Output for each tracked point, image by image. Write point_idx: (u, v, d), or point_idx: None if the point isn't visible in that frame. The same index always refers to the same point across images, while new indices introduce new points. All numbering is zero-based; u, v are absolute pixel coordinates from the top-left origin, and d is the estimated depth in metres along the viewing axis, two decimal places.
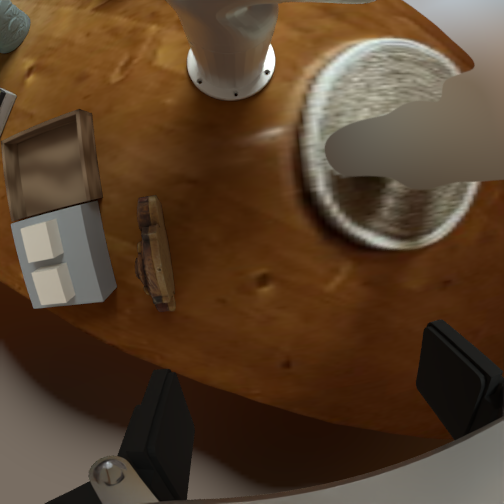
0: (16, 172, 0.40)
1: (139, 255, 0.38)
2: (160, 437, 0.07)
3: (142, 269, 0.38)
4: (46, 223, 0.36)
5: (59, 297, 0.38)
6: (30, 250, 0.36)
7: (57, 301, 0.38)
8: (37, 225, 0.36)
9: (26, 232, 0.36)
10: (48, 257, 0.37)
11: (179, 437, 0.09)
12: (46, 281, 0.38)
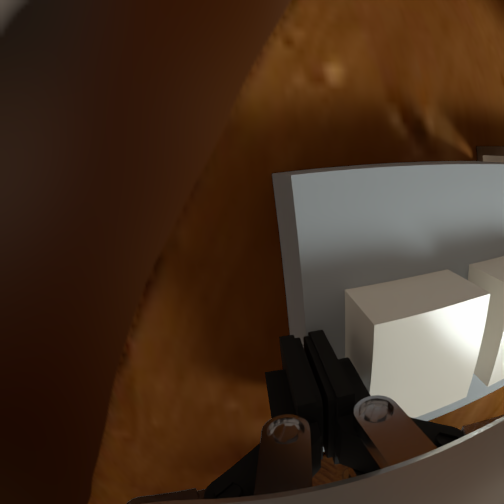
0: None
1: None
2: None
3: None
4: None
5: None
6: None
7: None
8: None
9: None
10: (495, 369, 0.10)
11: None
12: (450, 363, 0.10)
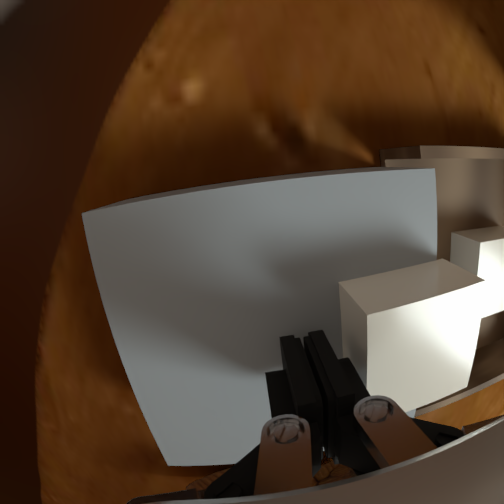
0: None
1: None
2: None
3: None
4: None
5: None
6: None
7: (372, 395, 0.10)
8: None
9: None
10: None
11: None
12: (448, 352, 0.10)
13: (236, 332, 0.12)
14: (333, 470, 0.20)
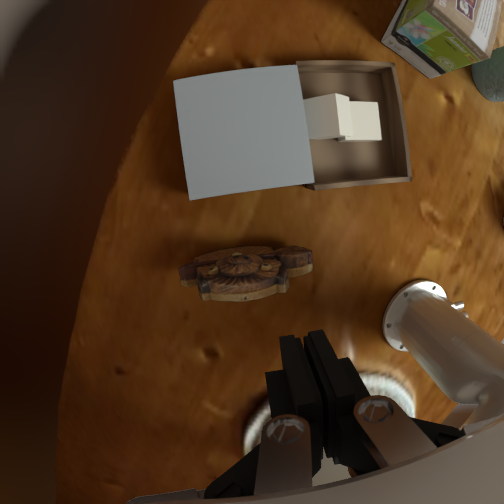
0: (349, 70, 0.35)
1: (257, 267, 0.35)
2: None
3: (243, 274, 0.34)
4: (340, 141, 0.39)
5: None
6: None
7: (350, 123, 0.35)
8: None
9: None
10: None
11: None
12: None
13: (225, 118, 0.33)
14: (286, 248, 0.40)
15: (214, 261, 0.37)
